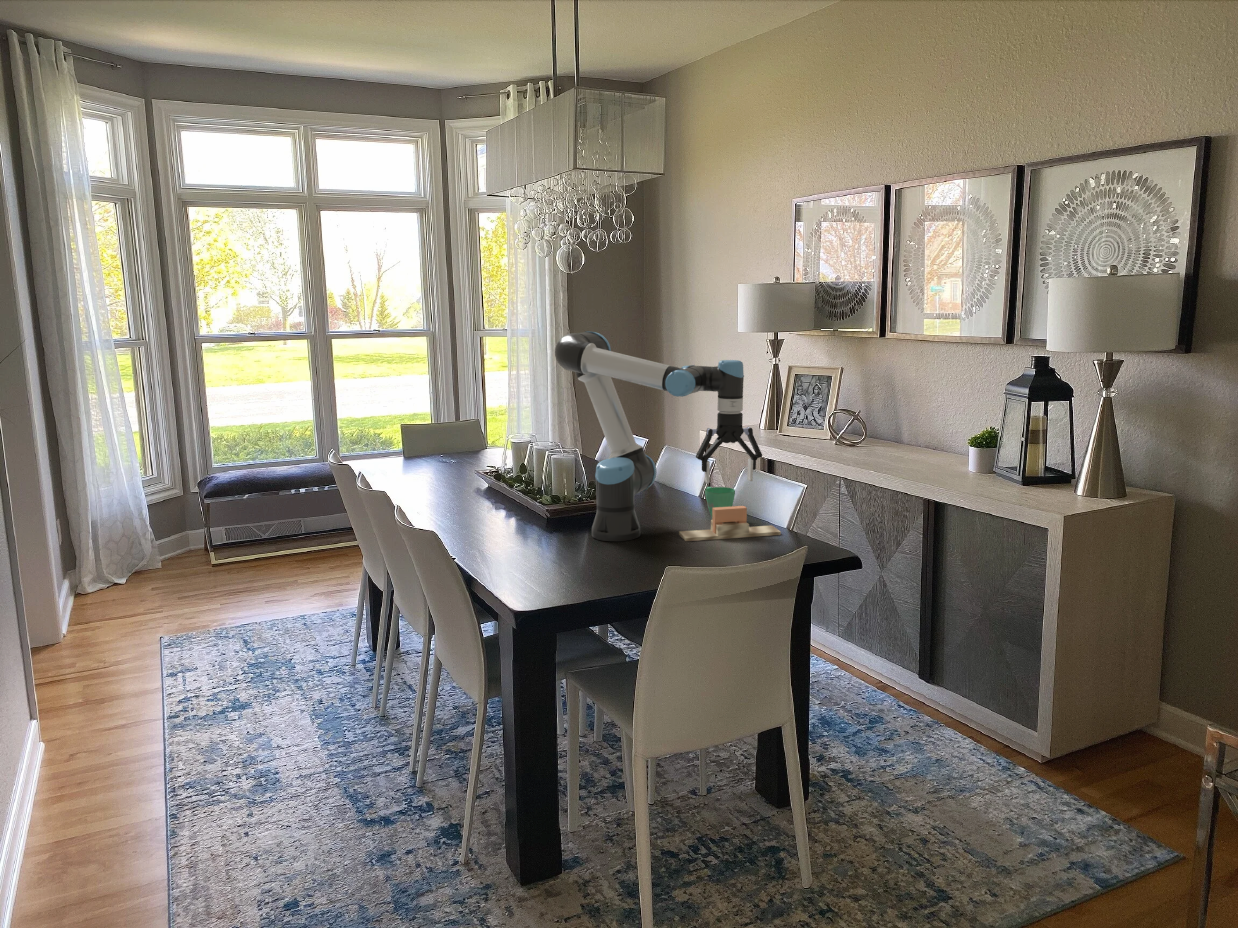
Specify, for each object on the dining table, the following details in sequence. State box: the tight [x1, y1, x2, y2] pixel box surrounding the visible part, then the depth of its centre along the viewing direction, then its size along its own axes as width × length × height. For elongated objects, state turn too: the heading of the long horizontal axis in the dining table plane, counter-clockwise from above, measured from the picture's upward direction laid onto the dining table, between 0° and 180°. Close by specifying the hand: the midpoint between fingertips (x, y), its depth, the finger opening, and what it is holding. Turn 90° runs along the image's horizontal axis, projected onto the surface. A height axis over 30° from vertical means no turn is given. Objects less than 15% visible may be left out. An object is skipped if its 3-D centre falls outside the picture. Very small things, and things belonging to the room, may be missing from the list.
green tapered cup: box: [704, 486, 736, 518], centre depth 303 cm, size 15×10×10 cm
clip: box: [711, 505, 748, 534], centre depth 283 cm, size 10×3×8 cm, turn 100°
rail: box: [678, 519, 782, 542], centre depth 283 cm, size 30×8×4 cm, turn 100°
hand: (728, 481), depth 281 cm, fingers open, 13 cm apart
